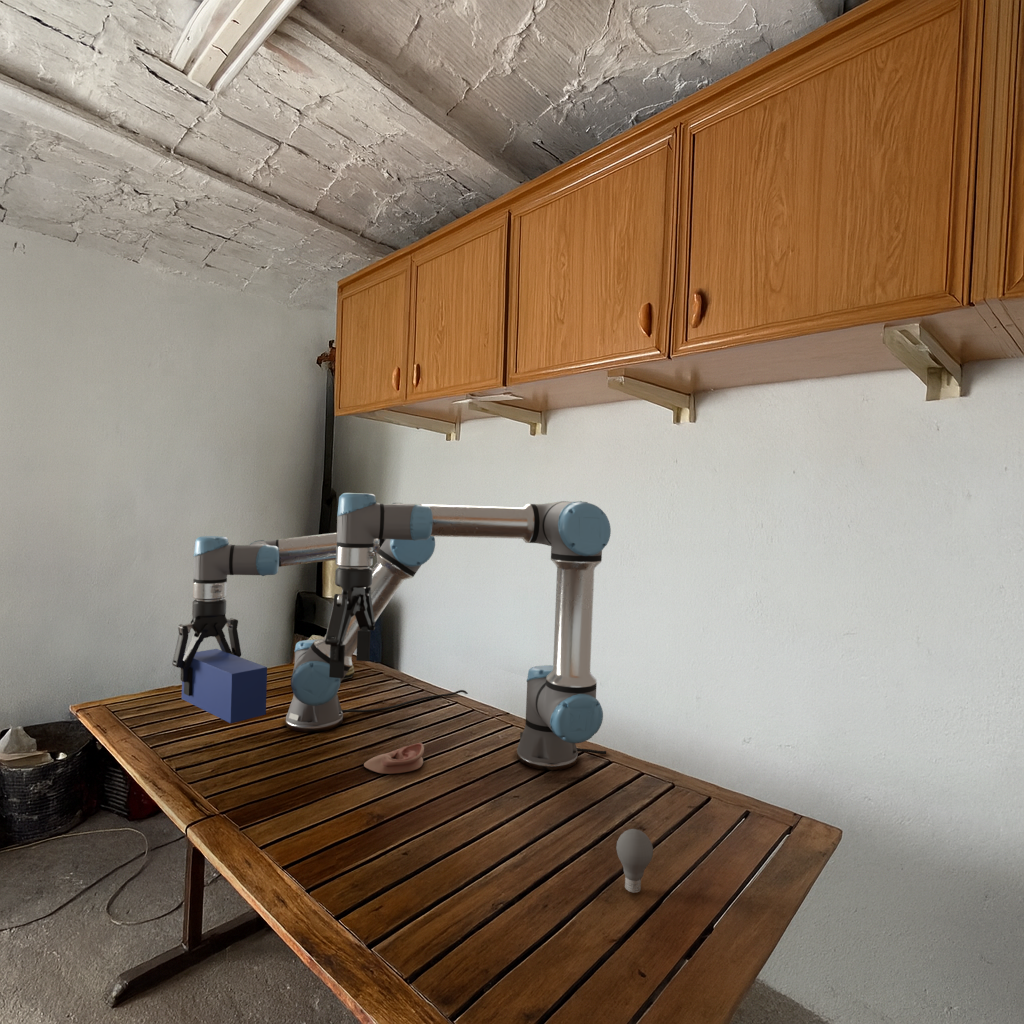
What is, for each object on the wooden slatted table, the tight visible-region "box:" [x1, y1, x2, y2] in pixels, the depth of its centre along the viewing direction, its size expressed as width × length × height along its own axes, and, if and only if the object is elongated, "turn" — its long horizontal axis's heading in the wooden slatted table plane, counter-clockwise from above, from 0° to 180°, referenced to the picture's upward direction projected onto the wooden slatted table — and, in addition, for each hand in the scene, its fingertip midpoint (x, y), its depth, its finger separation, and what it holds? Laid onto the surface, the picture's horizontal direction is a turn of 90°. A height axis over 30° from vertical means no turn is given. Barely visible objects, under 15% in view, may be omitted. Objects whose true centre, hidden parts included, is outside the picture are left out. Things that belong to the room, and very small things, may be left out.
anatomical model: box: [363, 742, 425, 775], centre depth 151 cm, size 13×4×12 cm
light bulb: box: [615, 828, 654, 894], centre depth 106 cm, size 6×6×10 cm
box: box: [181, 648, 268, 724], centre depth 151 cm, size 24×8×11 cm, turn 51°
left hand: (207, 690), depth 156 cm, fingers closed on box, 8 cm apart
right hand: (350, 668), depth 132 cm, fingers open, 13 cm apart
